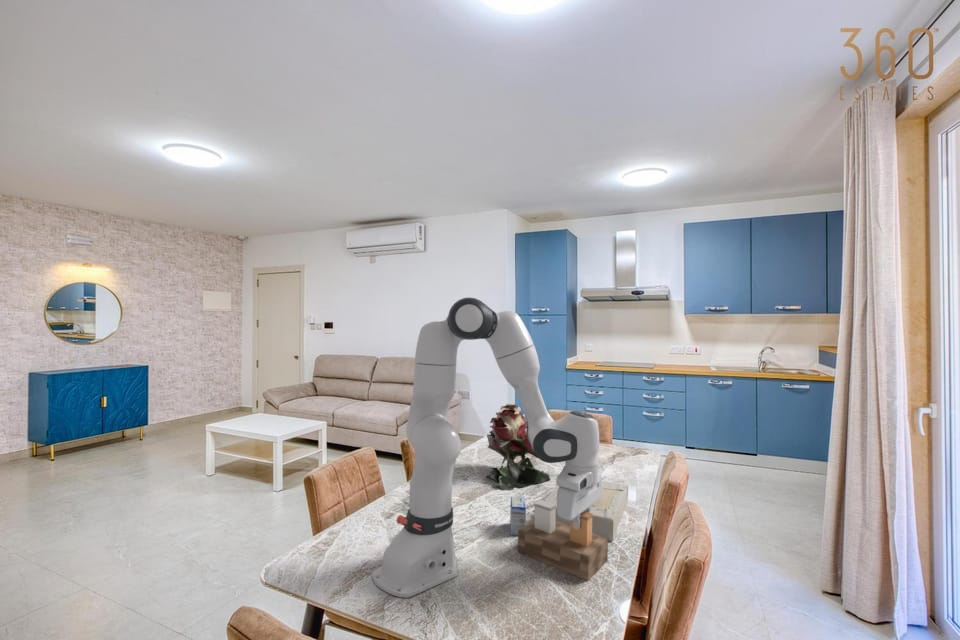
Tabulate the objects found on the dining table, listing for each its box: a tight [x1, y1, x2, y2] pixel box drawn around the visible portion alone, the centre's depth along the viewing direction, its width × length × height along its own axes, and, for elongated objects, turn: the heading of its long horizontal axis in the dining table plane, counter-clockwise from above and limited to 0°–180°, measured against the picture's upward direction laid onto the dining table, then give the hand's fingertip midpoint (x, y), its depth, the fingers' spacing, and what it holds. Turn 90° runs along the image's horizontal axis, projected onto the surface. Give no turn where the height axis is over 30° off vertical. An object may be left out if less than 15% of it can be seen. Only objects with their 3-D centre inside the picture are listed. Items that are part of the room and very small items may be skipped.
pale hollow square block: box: [542, 480, 629, 543], centre depth 146 cm, size 23×8×32 cm
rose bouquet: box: [485, 403, 551, 491], centre depth 182 cm, size 26×29×30 cm
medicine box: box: [509, 496, 527, 536], centre depth 134 cm, size 8×4×9 cm, turn 178°
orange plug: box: [570, 511, 593, 547], centre depth 116 cm, size 3×5×10 cm, turn 51°
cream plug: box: [533, 499, 556, 534], centre depth 123 cm, size 3×5×10 cm, turn 51°
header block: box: [517, 519, 609, 582], centre depth 119 cm, size 12×21×6 cm, turn 51°
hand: (580, 525), depth 116 cm, fingers closed on orange plug, 3 cm apart
